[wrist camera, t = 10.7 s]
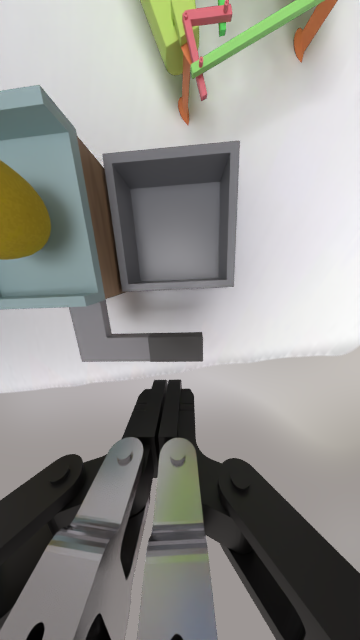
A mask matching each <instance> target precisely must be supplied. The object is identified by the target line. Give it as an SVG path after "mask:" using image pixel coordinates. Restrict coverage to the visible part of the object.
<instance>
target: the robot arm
mask: <svg viewBox="0 0 360 640" xmlns="http://www.w3.org/2000/svg"><path fill="white" fill-rule="evenodd" d="M153 478H157V487H156V498H155V508H154V519H153V528H152V534H151V536H150V538H149V541H148V547H147V553H146V562H145V569H144V580H143V588H142V597H141V606H140V615H139V625H138V633H137V640H218V639H217V630H216V622H215V613H214V603H213V594H212V585H211V576H210V567H209V558H208V549H207V542H206V535H207V536H209V537H210V538H212V539H214V540H216V541H217V542H219V543H220V545H221V547H222V549H223V551H224V552H225V554H226V555H227V557H228V559H229V561H230V562H231V564H232V566H233V567H234V569H235V571H236V572H237V574H238V576H239V577H240V579H241V581H242V583H243V584H244V586H245V587H246V589H247V591H248V593H249V594H250V596H251V598H252V599H253V601H254V603H255V604H256V606H257V608H258V609H259V611H260V613H261V615H262V616H263V618H264V620H265V621H266V623H267V625H268V626H269V628H270V630H271V631H272V633H273V634H274V637H275V638H276V640H360V573H359V572H358V571H356V569H354V568H353V566H352V565H350V563H349V562H348V561H346V559H345V558H344V557H343V556H341V555H340V554H339V553H338V552H337V551H336V550H335V549H334V548H333V547H332V546H331V545H330V544H329V543H328V542H327V541H326V540H325V539H324V538H323V537H322V536H321V535H320V534H319V533H318V532H317V531H316V530H315V529H314V528H313V527H312V526H311V525H310V524H309V523H308V522H307V521H306V520H305V519H304V518H303V517H302V516H301V515H300V514H299V513H298V512H297V511H296V510H295V509H294V508H293V507H292V506H291V505H290V504H289V503H288V502H287V501H286V500H285V499H284V498H283V497H282V496H281V495H280V494H279V493H278V492H277V491H276V490H275V489H274V488H273V487H272V486H271V485H270V484H269V483H268V482H267V481H266V480H265V479H264V478H263V477H262V476H261V475H260V474H259V473H258V472H257V471H256V470H255V469H254V468H253V467H252V466H251V465H250V464H248V463H247V462H245V461H243V460H241V459H237V458H232V459H228V460H226V461H224V462H223V463H219V462H216V461H214V460H211V459H210V458H208V457H206V456H205V455H203V454H202V452H201V451H200V450H199V448H198V446H197V444H196V439H195V413H194V395H193V393H192V392H191V390H190V389H182V385H181V380H169V381H168V384H167V380H154V382H153V386H152V389H145V390H144V391H143V392H142V393H141V394H140V395H139V397H138V400H137V402H136V405H135V407H134V410H133V412H132V415H131V417H130V420H129V422H128V425H127V427H126V430H125V433H124V435H123V437H122V439H121V440H120V441H118V442H117V443H115V444H114V445H113V446H112V448H111V449H110V450H109V452H108V454H106V455H105V456H103V457H100V458H97V459H94V460H90V461H87V462H84V463H83V461H82V459H81V457H80V456H78V455H75V454H70V455H66V456H63V457H61V458H59V459H58V460H56V461H55V462H53V463H52V464H50V465H49V466H48V467H46V468H45V469H43V470H42V471H41V472H39V473H38V474H37V475H35V476H34V477H32V478H31V479H30V480H28V481H27V482H25V483H24V484H23V485H21V486H20V487H18V488H17V489H16V490H14V491H13V492H11V493H10V494H9V495H7V496H6V497H5V498H3V499H2V500H0V640H125V635H126V630H127V625H128V619H129V612H130V603H131V590H132V582H133V577H134V572H135V568H136V563H137V558H138V553H139V549H140V545H141V540H142V536H143V531H144V526H145V522H146V517H147V513H148V508H149V504H150V491H151V485H152V479H153Z"/></svg>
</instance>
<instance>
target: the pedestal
mask: <svg viewBox="0 0 360 640" xmlns="http://www.w3.org/2000/svg"><path fill="white" fill-rule="evenodd" d="M77 140H78V146H79V151H80V157H81V163H82V169H83V174H84V180H85V186H86V191H87V197H88V203H89V208H90V214H91V220H92V226H93V231H94V237H95V243H96V248H97V254H98V260H99V266H100V271H101V277H102V283H103V288H104V294H105V299H107V298H110V297H113V296H116V295H119V294H122V293H125V292H128V291H125V292H122V286H121V279H120V272H119V265H118V258H117V251H116V244H115V238H114V231H113V224H112V217H111V210H110V203H109V196H108V189H107V182H106V175H105V169H104V168H103V167H102V165H101V164H100V163H99V162H98V161H97V159H96V158H95V157H94V156H93V155H92V153H91V152H90V151H89V150H88V149H87V147H86V146H85V145H84V144H83V142H82V141H81V140H80V139H79V138H78V136H77Z"/></svg>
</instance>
